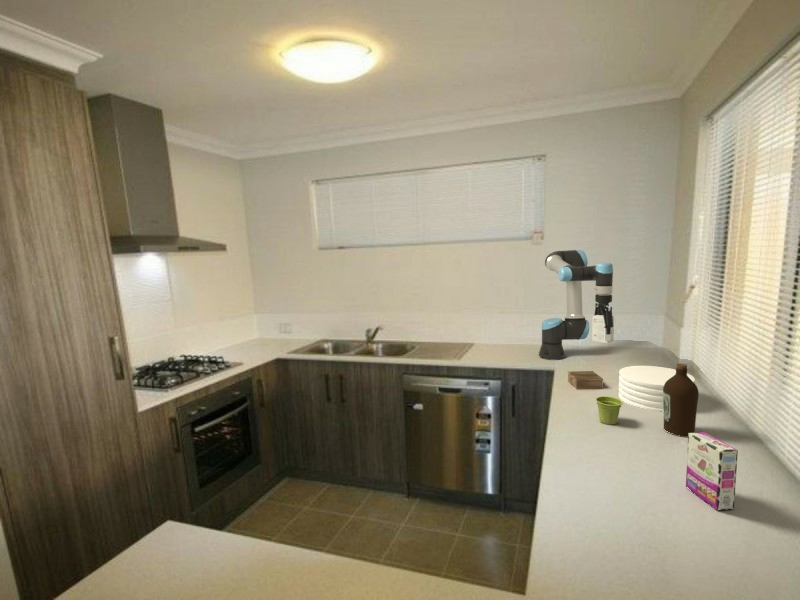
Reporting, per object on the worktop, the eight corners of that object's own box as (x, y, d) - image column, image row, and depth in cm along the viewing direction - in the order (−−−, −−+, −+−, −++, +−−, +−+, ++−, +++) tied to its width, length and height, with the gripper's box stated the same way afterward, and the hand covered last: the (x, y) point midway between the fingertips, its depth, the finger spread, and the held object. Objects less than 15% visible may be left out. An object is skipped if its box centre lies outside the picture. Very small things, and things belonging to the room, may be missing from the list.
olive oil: (692, 427, 155) (695, 361, 152) (700, 439, 146) (704, 369, 142) (658, 423, 159) (661, 359, 156) (664, 435, 149) (667, 367, 146)
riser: (567, 381, 211) (567, 371, 211) (592, 380, 211) (592, 371, 210) (576, 389, 199) (576, 379, 198) (603, 389, 198) (603, 378, 198)
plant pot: (619, 418, 165) (620, 397, 164) (624, 428, 157) (624, 406, 156) (594, 416, 169) (594, 395, 167) (596, 425, 160) (597, 403, 159)
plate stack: (698, 397, 183) (700, 372, 182) (686, 418, 163) (688, 390, 162) (628, 385, 202) (629, 362, 201) (610, 402, 182) (610, 377, 181)
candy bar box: (735, 510, 108) (739, 449, 106) (717, 511, 107) (721, 451, 105) (701, 485, 119) (704, 430, 117) (684, 487, 118) (687, 432, 116)
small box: (613, 341, 210) (614, 316, 208) (607, 343, 206) (608, 317, 204) (597, 339, 216) (598, 314, 214) (591, 341, 212) (592, 316, 210)
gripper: (587, 291, 219) (586, 333, 222) (605, 297, 197) (604, 343, 200) (601, 291, 218) (601, 333, 221) (622, 296, 196) (620, 343, 199)
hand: (602, 338), depth 210 cm, fingers closed on small box, 10 cm apart
